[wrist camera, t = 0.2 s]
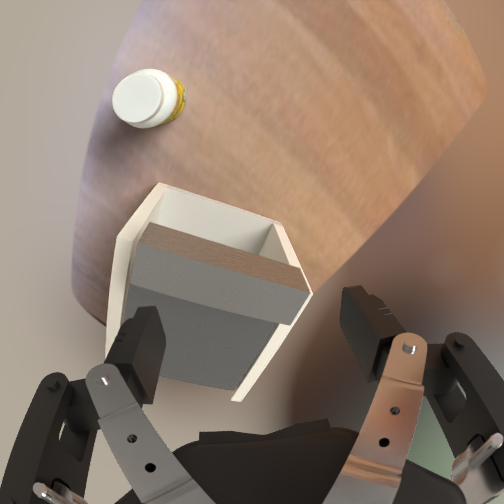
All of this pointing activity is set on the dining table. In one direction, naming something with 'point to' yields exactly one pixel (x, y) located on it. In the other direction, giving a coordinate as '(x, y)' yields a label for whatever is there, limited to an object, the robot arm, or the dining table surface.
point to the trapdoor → (211, 303)
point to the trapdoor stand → (211, 228)
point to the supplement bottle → (148, 98)
